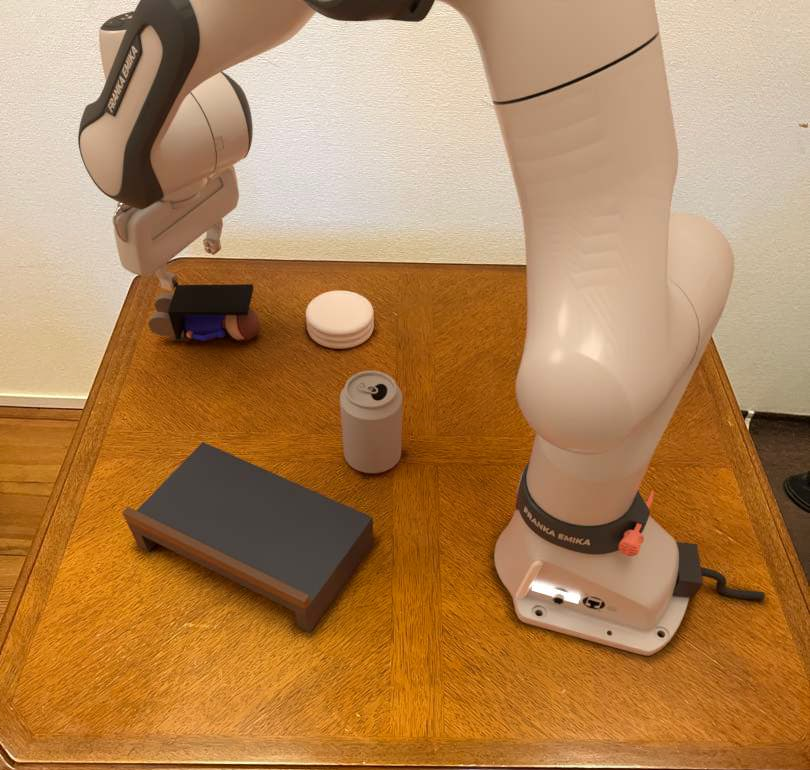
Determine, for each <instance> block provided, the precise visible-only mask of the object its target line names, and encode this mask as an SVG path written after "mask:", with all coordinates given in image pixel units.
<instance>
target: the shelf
mask: <svg viewBox="0 0 810 770" xmlns="http://www.w3.org/2000/svg"><path fill="white" fill-rule="evenodd" d="M121 514H122V515H123V517H124V520H125V523H126V524H127V526H128V528H129V530H130V532H131V534H132V537H133V538H134V540H135V543H136V544H137V547H138V548H140V549H142V550H145V551H146V552H150V551H151V550H152V549H153V548H154V547H155V546H156V545H157V544H158V545H160V546H162V547H164V548H166V549H168V550H170V551H172V552H174V553H176V554H178V555H180V556H182V557H184V558H186V559H188V560H190V561H192V562H194V563H197V564H199V565H200V566H202V567H203V568H206V569H208V570H210V571H212V572H214V573H216V574H217V575H220V576H222V577H224V578H226V579H229V580H230V581H233V582H234V583H236V584H239V585H241V586H242V587H244V588H247V589H248V590H251V591H252V592H254V593H256V594H258V595H261V597H264V598H266V599H268V600H270V601H272V602H274V603H276V604H279V605H280V606H282V607H285V608H286V609H288V610H291V611H292V612H294V614H295V619H296V624H297V628H298V629H301V630H303V631H304V632H307V633H308V634H311V632H312V631H313V630H314V629H315V628H316V625H318V622H319V621H320V620H321V619H322V617H323V615H324V614H325V612H326V611H327V610H328V608H329V607H330V606H331V604H332V603H333V601H334V600H335V598H336V597H337V595H338V594H339V593H340V591H341V590H342V588H343V587H344V586H345V584H346V583H347V582H348V579H349V578H350V577H351V576H352V574H353V572H354V571H355V569H356V568H357V567H358V565H359V564H360V562H361V561H362V560H363V558H364V557H365V555H366V554H367V552H368V551H369V549H370V548H371V547H372V545H373V544H374V519H373V518H374V517H373V516H371V515H369V514H366V513H364V512H362V511H360V510H357V509H355V508H353V507H350V506H348V505H346V504H344V503H341V502H339V501H337V500H334V499H332V498H330V497H328V496H325V495H324V494H322V493H319V492H316V491H314V490H312V489H310V488H307V487H306V486H303V485H301V484H299V483H297V482H294V481H292V480H291V479H290V480H289V479H287V478H285V477H283V476H281V475H279V474H276V473H274V472H272V471H269V470H267V469H264V468H263V467H260V466H258V465H256V464H253V463H251V462H249V461H247V460H245V459H242V458H240V457H238V456H235V455H234V454H231V453H228V452H227V451H224V450H222V449H220V448H218V447H215V446H213V445H210V444H209V443H206V442H205V441H202V442H201V443H200V444H199V445H198V446H197V447H196V448H195V449H194V450H193V451H192V452H191V453H190V454H189V455H188V456H187V457H186V459H184V461H183V462H181V463H180V465H178V467H177V468H176V469H175V470H174V471H173V472H172V473H171V474H170V475H169V476H168V477H167V478H166V479H165V480H164V481H163V482H162V483H161V484H160V485H159V487H157V488H156V489H155V490H154V492H152V494H151V495H150V496H149V497H148V498H146V500H145V501H144V502H143V503H142V504H141V505H140V506H139V507H138V508H137V509H134V508H132V507H130V506H127V507H126V508H124V510H123V511H122V512H121Z"/></svg>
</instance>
